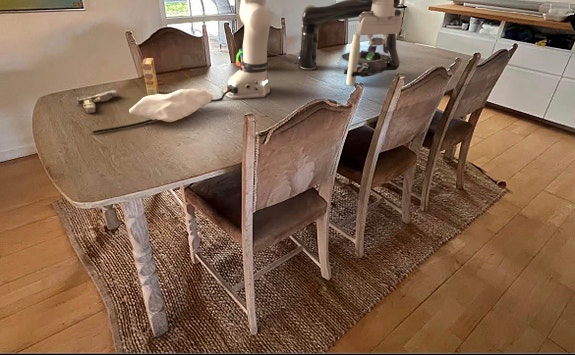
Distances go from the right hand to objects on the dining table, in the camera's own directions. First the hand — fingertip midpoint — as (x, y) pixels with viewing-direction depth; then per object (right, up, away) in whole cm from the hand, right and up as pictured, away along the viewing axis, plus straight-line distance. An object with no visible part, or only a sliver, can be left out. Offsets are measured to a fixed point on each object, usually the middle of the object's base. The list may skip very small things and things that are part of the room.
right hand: (348, 73), depth 186 cm
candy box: (-93, -15, -19) cm, 96 cm away
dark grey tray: (+21, +23, +49) cm, 58 cm away
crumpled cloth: (-79, -27, -36) cm, 91 cm away
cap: (+8, +8, -25) cm, 28 cm away
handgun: (-111, -22, -30) cm, 117 cm away
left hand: (+8, +6, -24) cm, 26 cm away
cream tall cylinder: (+2, -4, +5) cm, 7 cm away
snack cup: (-53, +9, +22) cm, 58 cm away
